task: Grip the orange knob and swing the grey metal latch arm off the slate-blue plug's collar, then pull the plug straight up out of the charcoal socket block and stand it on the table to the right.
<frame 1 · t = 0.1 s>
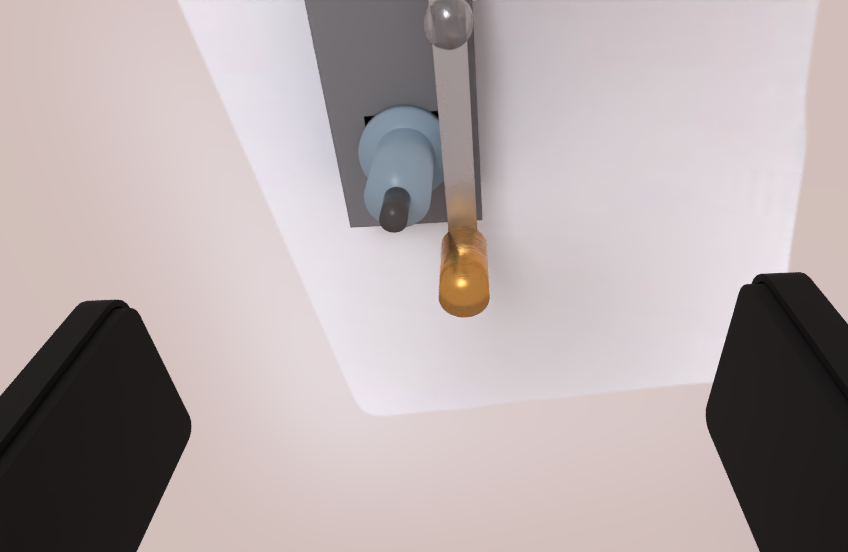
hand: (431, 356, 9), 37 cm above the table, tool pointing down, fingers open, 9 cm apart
plug: (410, 127, 43), point 2 cm above the table, touching socket block
socket block: (408, 85, 44), on the table
latch: (456, 164, 35), point 11 cm above the table, hinge at 0.0°
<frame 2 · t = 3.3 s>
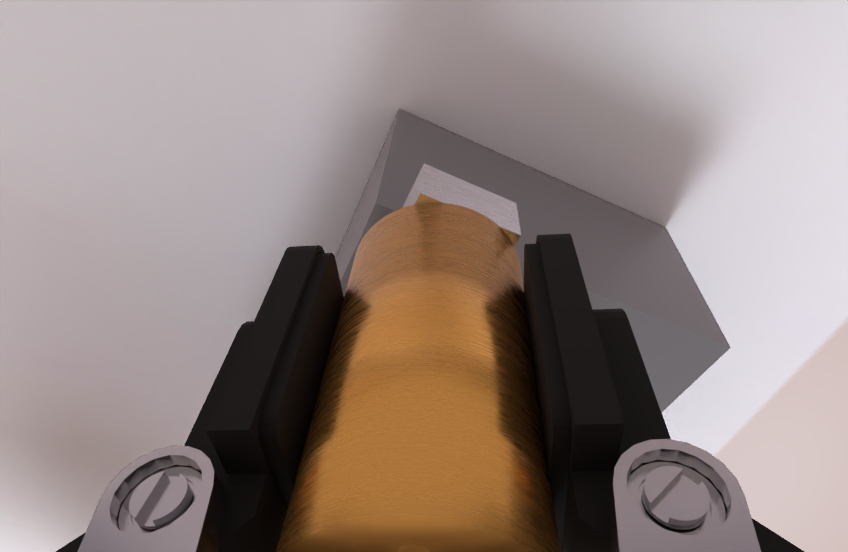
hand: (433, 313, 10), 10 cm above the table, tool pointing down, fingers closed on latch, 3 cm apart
socket block: (433, 342, 24), on the table
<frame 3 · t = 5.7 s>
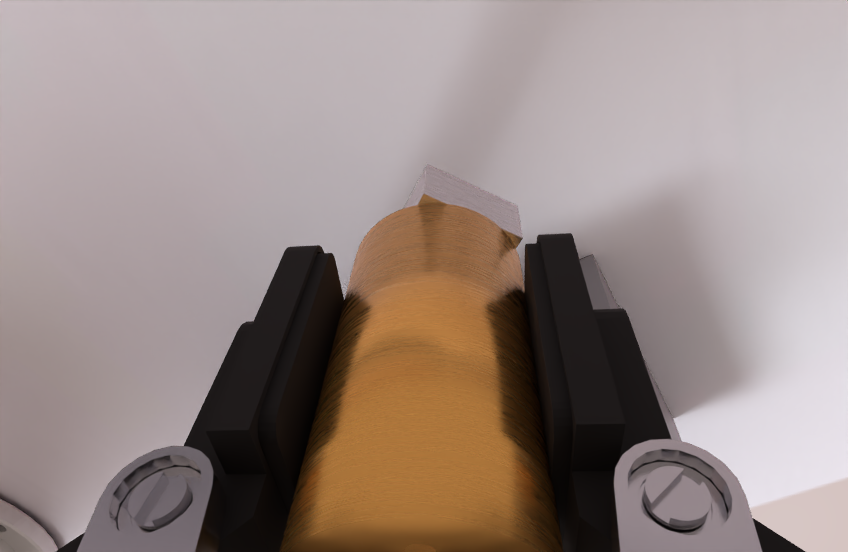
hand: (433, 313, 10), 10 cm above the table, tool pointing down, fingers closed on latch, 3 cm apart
socket block: (451, 410, 26), on the table
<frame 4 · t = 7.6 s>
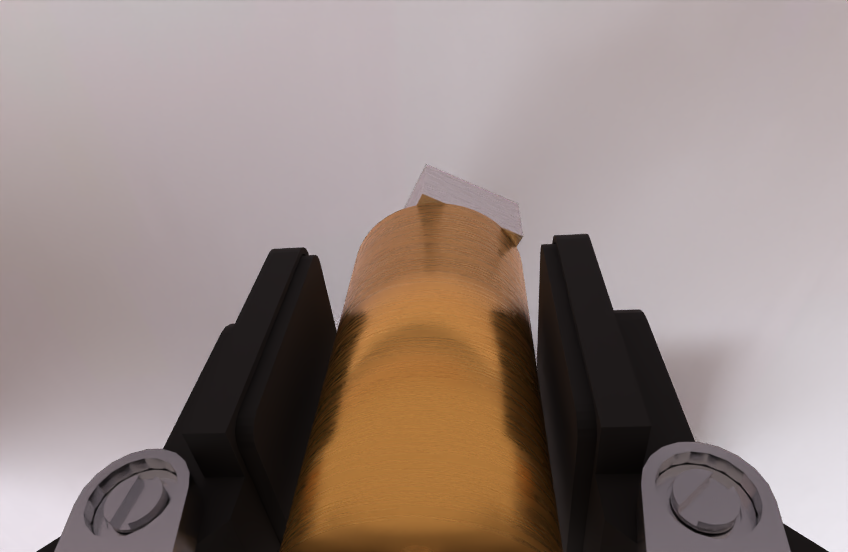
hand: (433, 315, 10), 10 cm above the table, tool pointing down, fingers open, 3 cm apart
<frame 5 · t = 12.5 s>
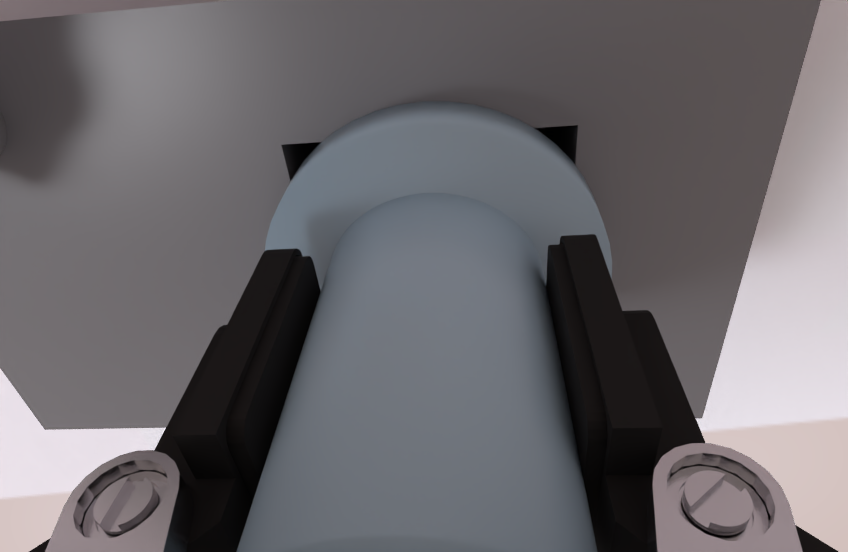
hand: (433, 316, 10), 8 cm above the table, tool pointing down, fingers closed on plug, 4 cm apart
plug: (443, 169, 15), point 2 cm above the table, touching gripper, socket block
socket block: (358, 144, 17), on the table
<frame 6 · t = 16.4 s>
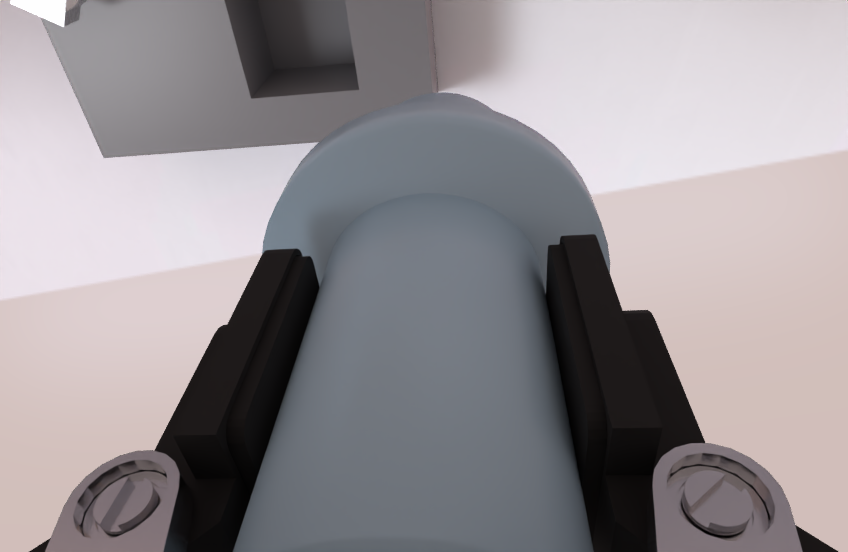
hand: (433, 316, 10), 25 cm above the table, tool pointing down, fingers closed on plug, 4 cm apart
plug: (441, 170, 15), point 19 cm above the table, touching gripper
socket block: (271, 11, 31), on the table
when the fingers open (7 cm above the table, at t = 20.4 s): plug drops 1 cm, on the table.
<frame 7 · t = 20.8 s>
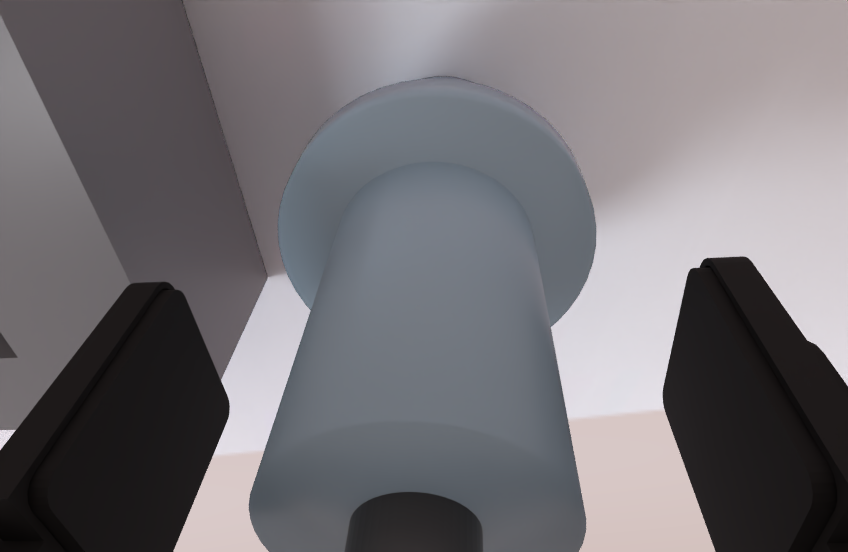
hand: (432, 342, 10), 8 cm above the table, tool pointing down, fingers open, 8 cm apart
plug: (441, 150, 16), on the table
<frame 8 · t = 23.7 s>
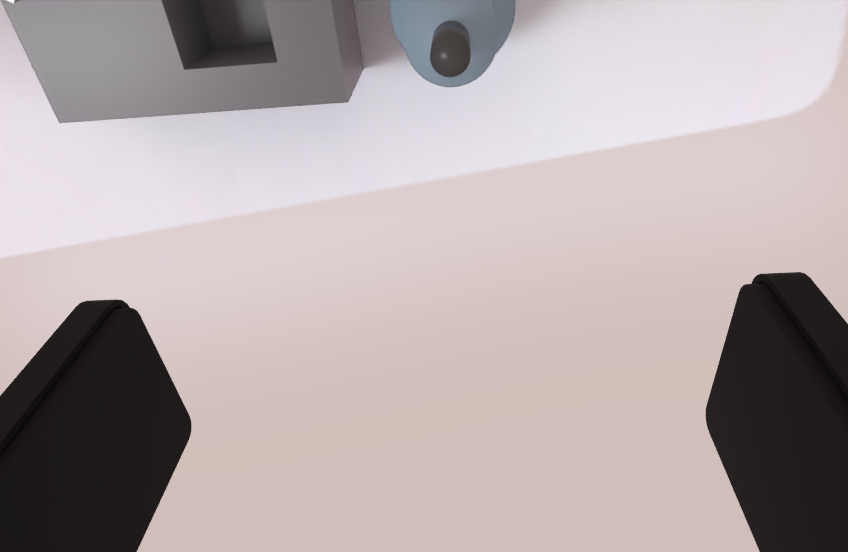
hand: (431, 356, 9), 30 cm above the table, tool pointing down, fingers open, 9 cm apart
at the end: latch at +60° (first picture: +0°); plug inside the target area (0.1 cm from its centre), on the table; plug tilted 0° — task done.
